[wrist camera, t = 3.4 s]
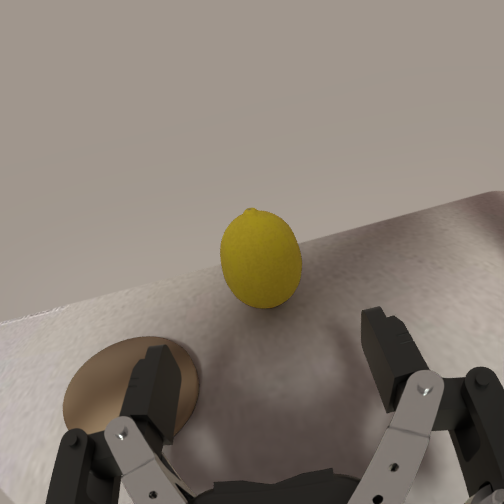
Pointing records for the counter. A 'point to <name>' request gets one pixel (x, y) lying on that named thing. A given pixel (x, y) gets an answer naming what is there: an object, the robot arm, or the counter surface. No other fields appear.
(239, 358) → the counter surface
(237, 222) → the lemon
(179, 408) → the walnut board
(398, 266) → the counter surface
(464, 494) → the counter surface
